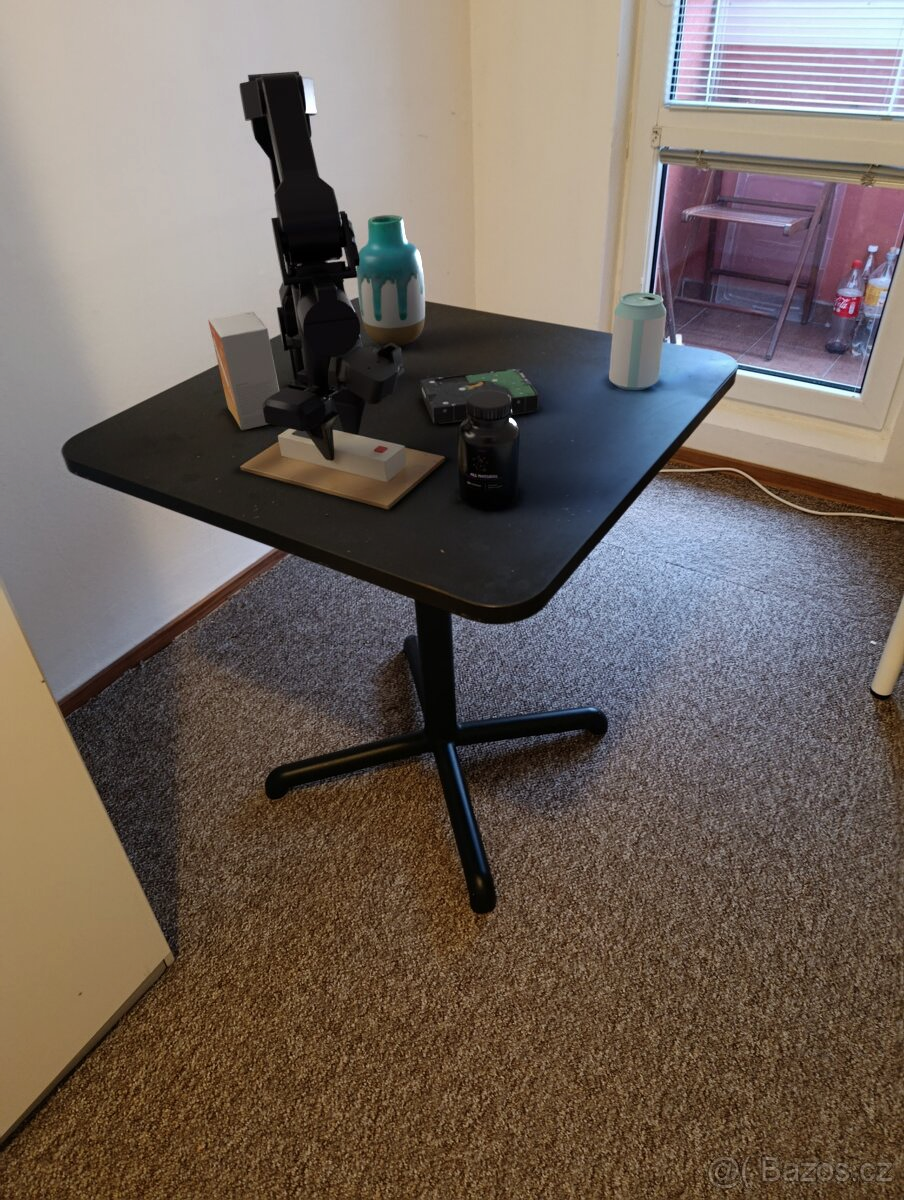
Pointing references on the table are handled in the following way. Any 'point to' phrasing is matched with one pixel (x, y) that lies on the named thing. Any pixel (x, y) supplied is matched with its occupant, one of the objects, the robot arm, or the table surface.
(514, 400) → the disk drive
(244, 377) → the small box
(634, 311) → the can
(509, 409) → the supplement bottle
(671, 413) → the table surface
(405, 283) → the vase
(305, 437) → the remote
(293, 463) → the cork mat
